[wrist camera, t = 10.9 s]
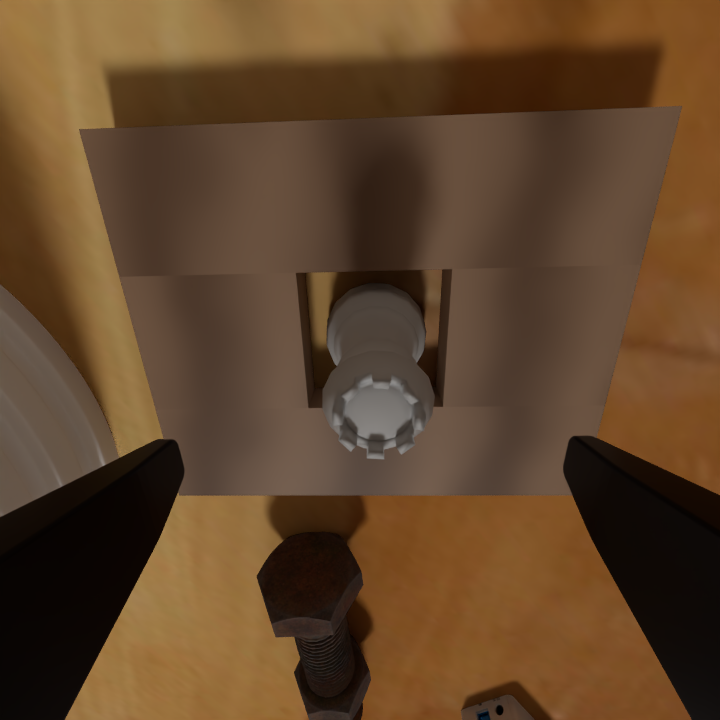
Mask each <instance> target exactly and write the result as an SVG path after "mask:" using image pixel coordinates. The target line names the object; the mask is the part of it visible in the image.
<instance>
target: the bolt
mask: <svg viewBox="0 0 720 720" xmlns="http://www.w3.org/2000/svg"><path fill="white" fill-rule="evenodd" d="M257 579H258V583H259V586H260V589H261V592H262V596H263V599H264V602H265V605H266V609H267V612H268V615H269V618H270V621H271V624H272V627H273V630H274V633H275V636H276V637H295V641H296V645H297V649H298V652H299V655H300V661H299V663H298V665H297V667H296V669H295V672H294V674H295V677H296V681H297V684H298V687H299V690H300V693H301V696H302V699H303V702H304V705H305V708H306V711H307V715H308V717H309V720H361V717H362V712H363V703H362V701H363V699H364V697H365V694H366V692H367V689H368V686H369V683H370V681H371V677H370V671H369V668H368V666H367V664H366V661H365V659H364V657H363V655H362V653H361V651H360V649H359V647H358V645H357V643H356V641H355V639H354V638H353V636H350V633H349V628H348V622H347V616H346V613H347V611H348V610H349V608H350V606H351V605H352V603H353V601H354V600H355V598H356V596H357V594H358V593H359V591H360V589H361V588H362V586H363V580H362V573H361V570H360V568H359V566H358V564H357V562H356V559H355V558H354V556H353V554H352V553H351V551H350V549H349V547H348V546H347V544H346V542H345V541H344V540H343V538H342V537H341V536H340V535H337V534H333V533H328V532H308V533H301V534H297V535H295V536H292V537H290V538H288V539H286V540H285V541H283V542H282V543H281V544H280V545H278V546H277V548H276V549H275V550H274V551H273V552H272V553H271V554H270V555H269V557H268V558H267V560H266V561H265V563H264V564H263V566H262V568H261V570H260V571H259V573H258V575H257Z"/></svg>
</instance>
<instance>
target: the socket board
mask: <svg viewBox="0 0 720 720" xmlns="http://www.w3.org/2000/svg"><path fill="white" fill-rule="evenodd" d="M681 108H682V106H672V107H646V108H620V109H594V110H568V111H542V112H516V113H490V114H464V115H438V116H412V117H386V118H361V119H335V120H309V121H283V122H257V123H231V124H205V125H179V126H153V127H127V128H101V129H79V131H80V135H81V139H82V142H83V146H84V149H85V153H86V157H87V160H88V164H89V168H90V171H91V175H92V179H93V182H94V186H95V190H96V193H97V197H98V201H99V204H100V208H101V212H102V215H103V219H104V223H105V226H106V230H107V233H108V237H109V241H110V244H111V248H112V252H113V255H114V259H115V263H116V266H117V270H118V274H119V277H120V281H121V285H122V288H123V292H124V296H125V299H126V303H127V306H128V310H129V314H130V317H131V321H132V325H133V328H134V332H135V336H136V339H137V343H138V347H139V350H140V354H141V358H142V361H143V365H144V369H145V372H146V376H147V379H148V383H149V387H150V390H151V394H152V398H153V401H154V405H155V409H156V412H157V416H158V420H159V423H160V427H161V431H162V434H163V438H164V439H174V440H176V441H177V443H178V445H179V448H180V452H181V456H182V460H183V464H184V469H185V473H184V478H183V481H182V483H181V486H180V488H179V491H178V493H179V495H572V493H571V491H570V488H569V486H568V484H567V481H566V479H565V477H564V473H563V463H564V459H565V454H566V450H567V446H568V442H569V439H570V438H571V437H572V436H587V435H589V436H593V437H595V438H597V434H598V430H599V426H600V422H601V419H602V415H603V411H604V407H605V403H606V399H607V395H608V391H609V388H610V384H611V380H612V376H613V372H614V368H615V364H616V360H617V357H618V353H619V349H620V345H621V341H622V337H623V333H624V329H625V325H626V322H627V318H628V314H629V310H630V306H631V302H632V298H633V294H634V291H635V287H636V283H637V279H638V275H639V271H640V267H641V263H642V260H643V256H644V252H645V248H646V244H647V240H648V236H649V232H650V229H651V225H652V221H653V217H654V213H655V209H656V205H657V201H658V198H659V194H660V190H661V186H662V182H663V178H664V174H665V170H666V167H667V163H668V159H669V155H670V151H671V147H672V143H673V139H674V136H675V132H676V128H677V124H678V120H679V116H680V112H681ZM436 269H443V270H442V287H441V305H440V322H439V340H438V357H437V375H436V387H432V389H433V392H434V395H435V399H434V406H433V413H432V417H431V418H430V420H429V421H428V423H427V424H426V426H425V427H424V431H422V432H421V433H420V434H418V435H417V436H415V437H414V441H415V445H414V446H413V447H412V448H410V449H409V450H407V451H406V452H405V453H403V454H402V455H401V454H400V452H399V451H398V449H397V448H396V447H392V448H389V449H385V450H384V459H369V458H367V448H362V447H360V446H357V445H356V446H355V448H354V449H353V450H352V451H351V452H350V451H349V450H348V449H347V448H346V447H345V446H344V445H343V444H342V443H340V442H339V441H338V440H339V434H337V433H336V432H335V431H334V430H333V429H332V428H331V427H330V425H329V423H328V421H327V418H326V416H325V414H324V412H323V410H322V403H323V388H315V386H314V374H313V362H312V350H311V338H310V326H309V314H308V302H307V289H306V277H305V273H307V272H350V271H393V270H436Z"/></svg>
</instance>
